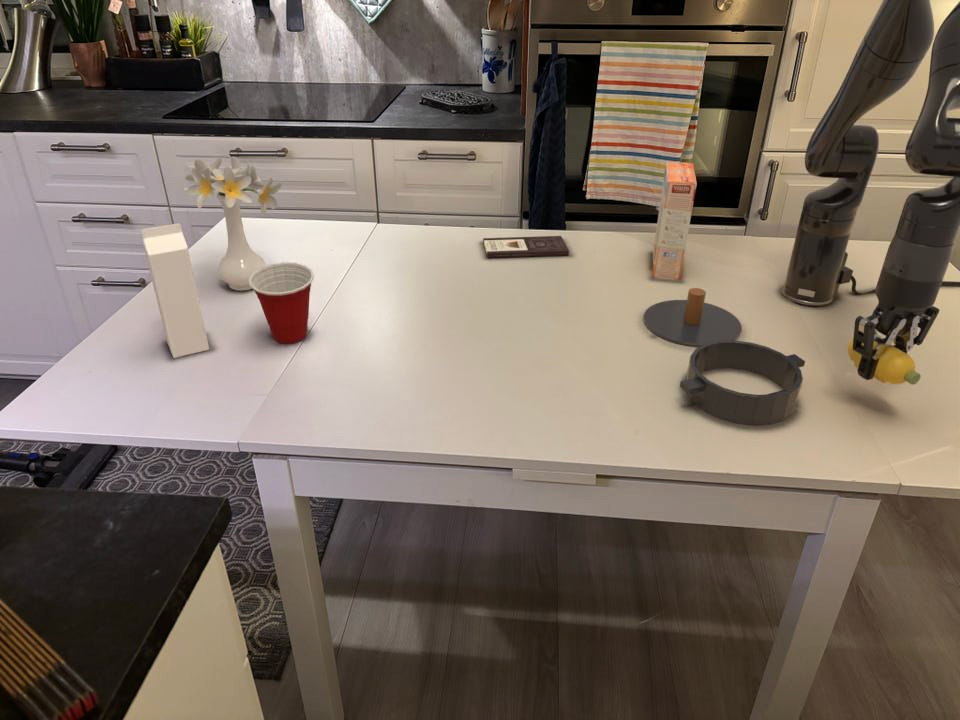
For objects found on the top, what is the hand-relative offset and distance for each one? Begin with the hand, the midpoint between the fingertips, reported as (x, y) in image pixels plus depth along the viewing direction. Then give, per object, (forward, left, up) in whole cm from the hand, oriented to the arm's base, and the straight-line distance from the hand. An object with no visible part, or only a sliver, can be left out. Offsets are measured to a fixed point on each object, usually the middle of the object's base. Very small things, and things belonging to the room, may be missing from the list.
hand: (878, 373), depth 110 cm
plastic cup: (+78, -55, -7) cm, 96 cm away
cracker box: (-2, -56, -7) cm, 57 cm away
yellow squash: (0, 0, 0) cm, 0 cm away
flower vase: (+82, -80, -7) cm, 115 cm away
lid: (+9, -32, -6) cm, 34 cm away
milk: (+95, -58, -7) cm, 112 cm away
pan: (+16, -10, -7) cm, 20 cm away
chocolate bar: (+22, -76, -7) cm, 79 cm away
